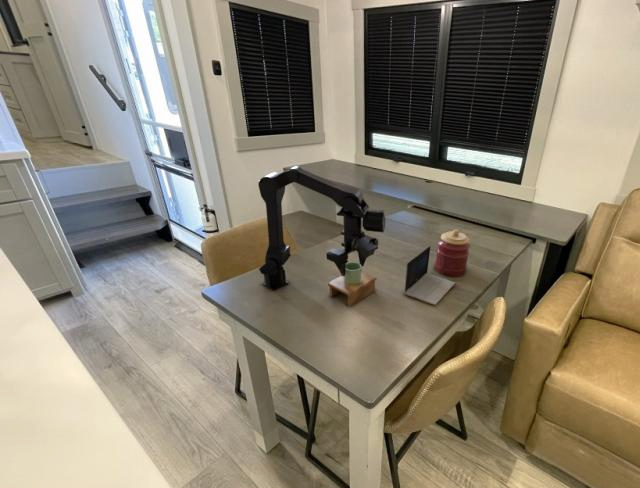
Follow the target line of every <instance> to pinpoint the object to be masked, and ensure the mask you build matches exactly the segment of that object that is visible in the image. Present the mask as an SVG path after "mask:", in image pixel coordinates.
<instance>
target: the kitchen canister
mask: <svg viewBox="0 0 640 488" xmlns="http://www.w3.org/2000/svg"><path fill="white" fill-rule="evenodd" d="M437 244H438V246H437V248H436V257H435V261H434V262H435V263H434V267H435V270H436V271H437V272H439V273H440V274H442V275H445V276H449V277H458V276H463V274H465V272H466V271H467V265H468V264H467V263H468V259H469V256H470V251H469V249H470V248H471V244H470V238H469V237H468V236H467V235H466V234H465V233H463V232H460V231H459V230H458V229H453V230H450V231H446V232H444V233H442V234H441V235H440V238H439V239H438V241H437Z"/></svg>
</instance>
